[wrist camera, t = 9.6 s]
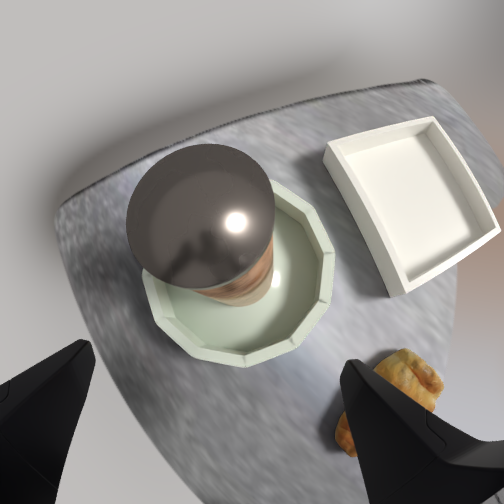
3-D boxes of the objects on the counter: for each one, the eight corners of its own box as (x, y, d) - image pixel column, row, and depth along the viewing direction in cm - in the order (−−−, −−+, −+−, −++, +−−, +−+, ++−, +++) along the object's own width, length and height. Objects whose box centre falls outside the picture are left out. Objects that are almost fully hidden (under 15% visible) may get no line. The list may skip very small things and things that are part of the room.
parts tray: (484, 239, 20) (501, 230, 18) (390, 297, 20) (406, 293, 17) (422, 132, 24) (433, 116, 21) (322, 161, 24) (327, 142, 21)
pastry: (363, 462, 17) (375, 482, 13) (313, 421, 19) (320, 438, 15) (437, 384, 18) (460, 391, 14) (394, 337, 20) (415, 339, 16)
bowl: (352, 318, 20) (363, 317, 17) (191, 380, 20) (179, 388, 17) (284, 173, 24) (285, 154, 21) (143, 230, 23) (128, 218, 21)
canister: (289, 270, 21) (308, 201, 9) (240, 323, 20) (192, 322, 8) (238, 224, 22) (201, 123, 10) (190, 273, 21) (103, 217, 10)
